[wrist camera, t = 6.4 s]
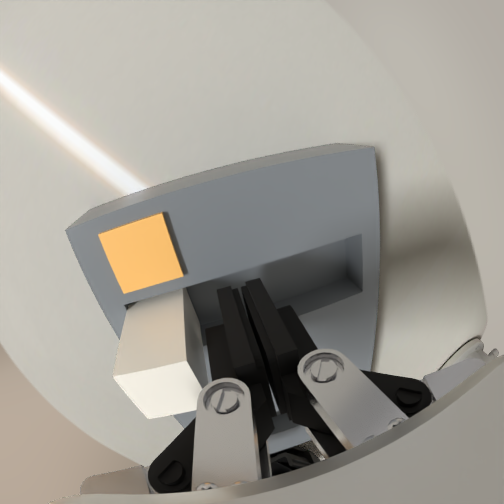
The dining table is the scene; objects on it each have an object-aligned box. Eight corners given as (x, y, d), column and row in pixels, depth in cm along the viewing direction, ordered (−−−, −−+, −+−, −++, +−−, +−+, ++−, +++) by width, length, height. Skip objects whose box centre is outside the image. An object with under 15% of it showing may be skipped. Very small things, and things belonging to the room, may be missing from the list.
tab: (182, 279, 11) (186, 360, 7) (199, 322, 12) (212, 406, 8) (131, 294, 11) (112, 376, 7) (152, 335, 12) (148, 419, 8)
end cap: (250, 480, 26) (263, 522, 20) (213, 472, 23) (224, 522, 17) (317, 449, 25) (338, 492, 19) (287, 438, 22) (310, 493, 16)
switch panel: (337, 143, 12) (377, 147, 9) (346, 393, 21) (362, 419, 18) (89, 209, 11) (63, 232, 8) (214, 437, 19) (220, 468, 16)
